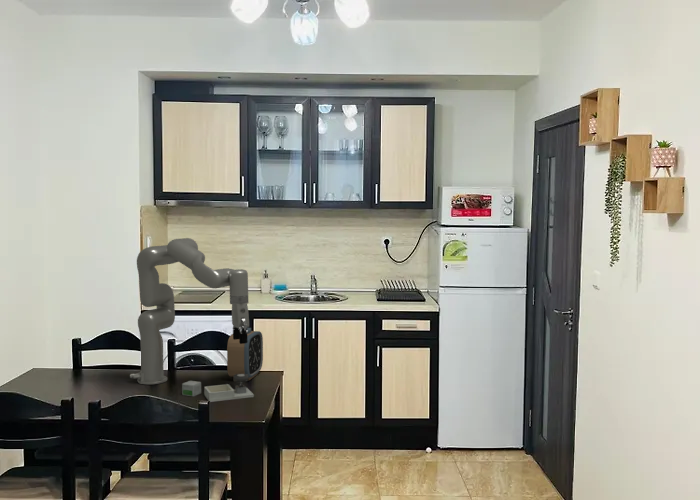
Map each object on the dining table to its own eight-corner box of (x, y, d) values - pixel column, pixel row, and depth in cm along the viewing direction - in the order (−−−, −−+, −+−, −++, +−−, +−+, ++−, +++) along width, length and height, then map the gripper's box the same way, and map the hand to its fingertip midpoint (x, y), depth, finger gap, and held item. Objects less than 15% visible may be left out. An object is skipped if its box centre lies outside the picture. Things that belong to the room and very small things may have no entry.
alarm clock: (247, 383, 292) (247, 334, 290) (227, 382, 293) (227, 333, 292) (263, 371, 312) (263, 326, 310) (244, 370, 314) (243, 325, 312)
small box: (181, 395, 273) (181, 383, 273) (190, 391, 279) (190, 380, 278) (193, 397, 271) (193, 385, 271) (201, 393, 276) (201, 381, 276)
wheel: (235, 388, 270) (235, 377, 270) (232, 385, 276) (231, 373, 275) (249, 387, 272) (249, 376, 272) (246, 383, 278) (246, 372, 278)
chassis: (209, 401, 264) (209, 393, 264) (204, 394, 274) (204, 386, 273) (253, 396, 271) (253, 388, 271) (247, 390, 281) (247, 382, 280)
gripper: (254, 301, 266) (255, 344, 267) (242, 296, 282) (243, 336, 283) (235, 303, 263) (236, 346, 264) (224, 298, 279) (225, 338, 280)
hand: (240, 341), depth 273 cm, fingers open, 9 cm apart
